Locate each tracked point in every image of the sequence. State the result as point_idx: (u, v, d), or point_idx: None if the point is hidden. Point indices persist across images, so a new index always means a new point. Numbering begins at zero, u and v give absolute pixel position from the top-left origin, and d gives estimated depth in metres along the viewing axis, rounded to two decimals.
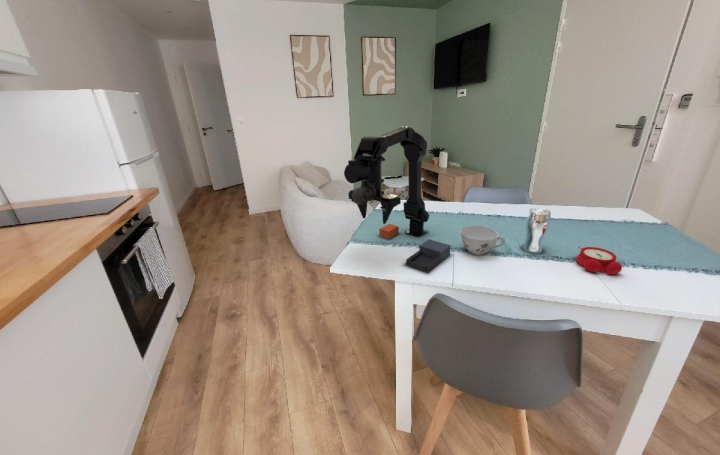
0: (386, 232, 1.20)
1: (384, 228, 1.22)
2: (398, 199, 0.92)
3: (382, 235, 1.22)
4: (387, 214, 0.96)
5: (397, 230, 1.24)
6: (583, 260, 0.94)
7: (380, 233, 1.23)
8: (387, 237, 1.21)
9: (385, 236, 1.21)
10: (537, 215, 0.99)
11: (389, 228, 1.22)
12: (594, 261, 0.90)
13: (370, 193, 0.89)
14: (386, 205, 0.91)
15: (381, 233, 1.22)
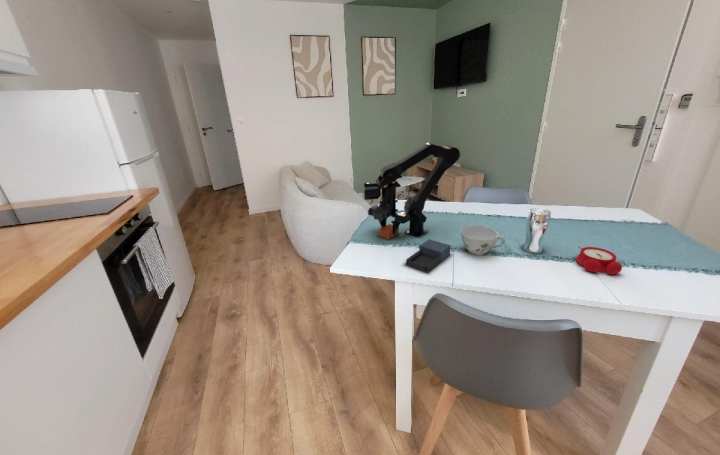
0: (386, 232, 1.20)
1: (384, 228, 1.22)
2: (409, 216, 1.15)
3: (382, 235, 1.22)
4: (396, 227, 1.20)
5: (397, 230, 1.24)
6: (583, 260, 0.94)
7: (380, 233, 1.23)
8: (387, 237, 1.21)
9: (385, 236, 1.21)
10: (537, 215, 0.99)
11: (389, 228, 1.22)
12: (594, 261, 0.90)
13: (387, 212, 1.12)
14: (400, 221, 1.14)
15: (381, 233, 1.22)
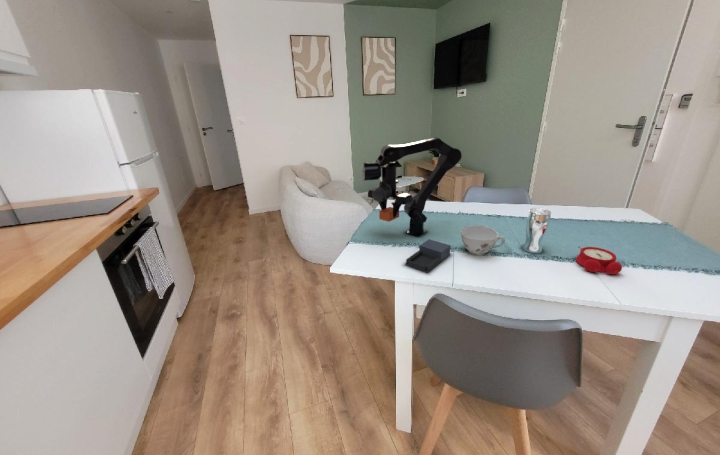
0: (386, 214, 1.16)
1: (384, 211, 1.18)
2: (410, 197, 1.12)
3: (382, 218, 1.19)
4: (397, 209, 1.17)
5: (397, 213, 1.20)
6: (583, 260, 0.94)
7: (380, 216, 1.19)
8: (387, 219, 1.17)
9: (385, 219, 1.18)
10: (537, 215, 0.99)
11: (389, 210, 1.19)
12: (594, 261, 0.90)
13: (387, 192, 1.09)
14: (400, 202, 1.10)
15: (381, 215, 1.18)
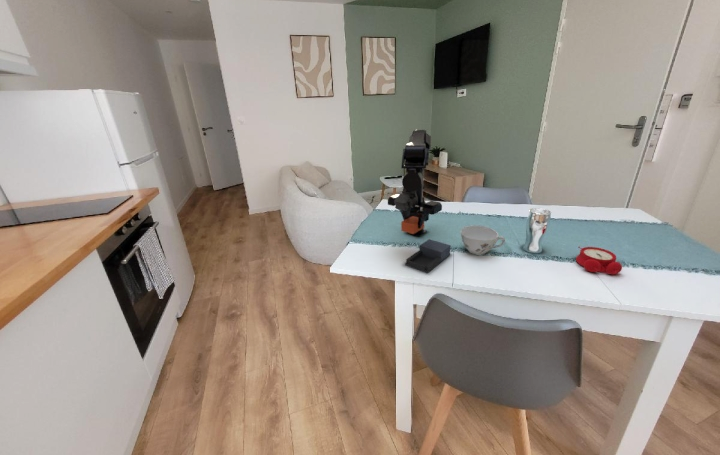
0: (410, 225, 0.99)
1: (408, 221, 1.01)
2: (440, 206, 0.94)
3: (405, 229, 1.01)
4: (422, 219, 0.99)
5: (423, 223, 1.03)
6: (583, 260, 0.94)
7: (402, 227, 1.01)
8: (411, 231, 0.99)
9: (409, 230, 1.00)
10: (537, 215, 0.99)
11: (413, 221, 1.01)
12: (594, 261, 0.90)
13: (414, 200, 0.91)
14: (429, 211, 0.93)
15: (404, 227, 1.01)
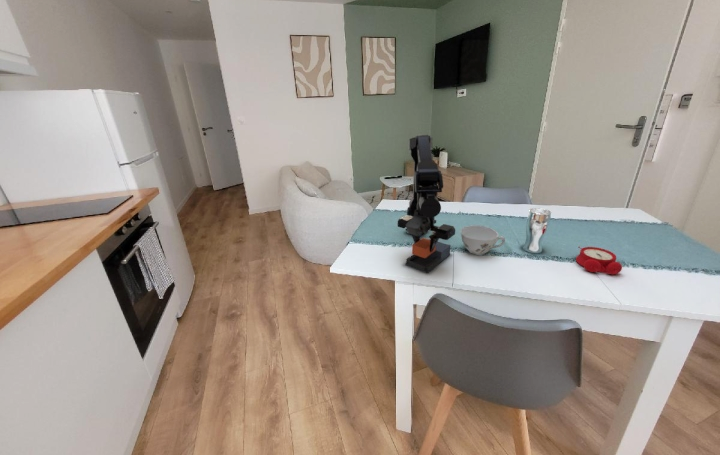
0: (422, 249, 0.95)
1: (419, 244, 0.97)
2: (453, 230, 0.90)
3: (416, 253, 0.97)
4: (434, 243, 0.95)
5: None
6: (583, 260, 0.94)
7: (413, 250, 0.98)
8: (423, 256, 0.96)
9: (420, 254, 0.96)
10: (537, 215, 0.99)
11: (425, 244, 0.97)
12: (594, 261, 0.90)
13: (427, 225, 0.87)
14: (442, 237, 0.89)
15: (415, 250, 0.97)
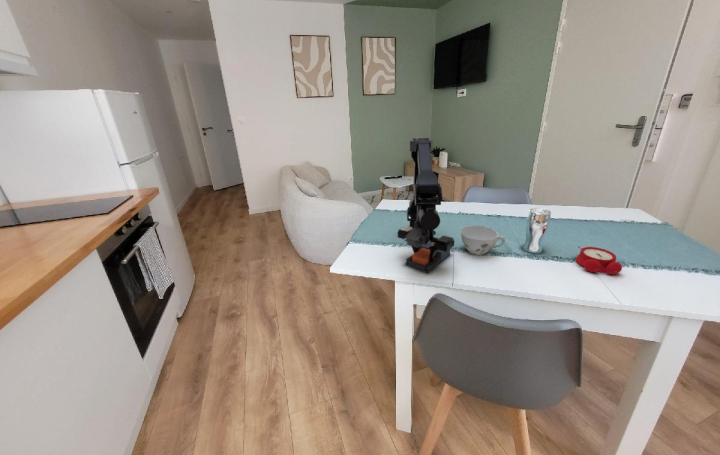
0: (421, 260, 0.97)
1: (418, 255, 0.98)
2: (452, 242, 0.92)
3: None
4: (434, 253, 0.97)
5: None
6: (583, 260, 0.94)
7: (413, 260, 0.99)
8: None
9: None
10: (537, 215, 0.99)
11: (424, 254, 0.99)
12: (594, 261, 0.90)
13: (426, 237, 0.89)
14: (441, 248, 0.90)
15: (415, 260, 0.99)
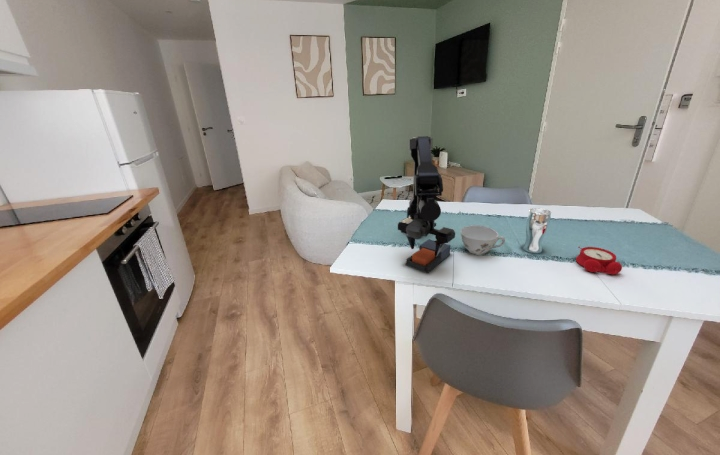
0: (421, 260, 0.97)
1: (418, 255, 0.98)
2: (453, 233, 0.91)
3: None
4: (440, 247, 0.94)
5: (433, 256, 1.00)
6: (583, 260, 0.94)
7: (413, 260, 0.99)
8: None
9: None
10: (537, 215, 0.99)
11: (424, 254, 0.99)
12: (594, 261, 0.90)
13: (427, 228, 0.88)
14: (442, 240, 0.89)
15: (415, 260, 0.99)
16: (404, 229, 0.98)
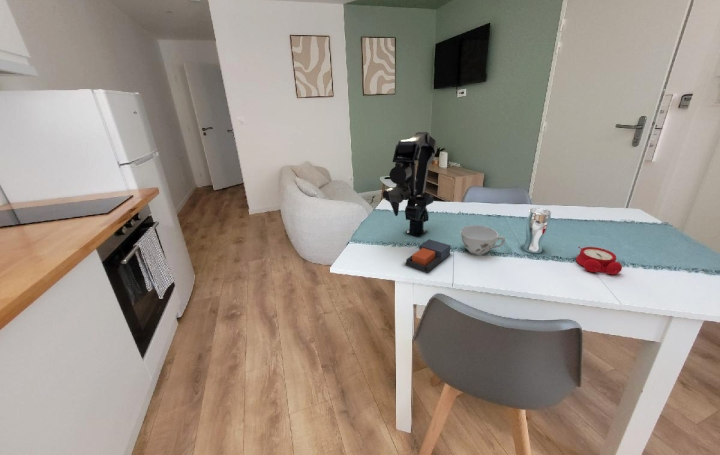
0: (421, 260, 0.97)
1: (418, 255, 0.98)
2: (431, 198, 1.00)
3: None
4: (420, 212, 1.04)
5: (433, 256, 1.00)
6: (583, 260, 0.94)
7: (413, 260, 0.99)
8: None
9: None
10: (537, 215, 0.99)
11: (424, 254, 0.99)
12: (594, 261, 0.90)
13: (407, 192, 0.97)
14: (421, 203, 0.98)
15: (415, 260, 0.99)
16: (388, 196, 1.07)
